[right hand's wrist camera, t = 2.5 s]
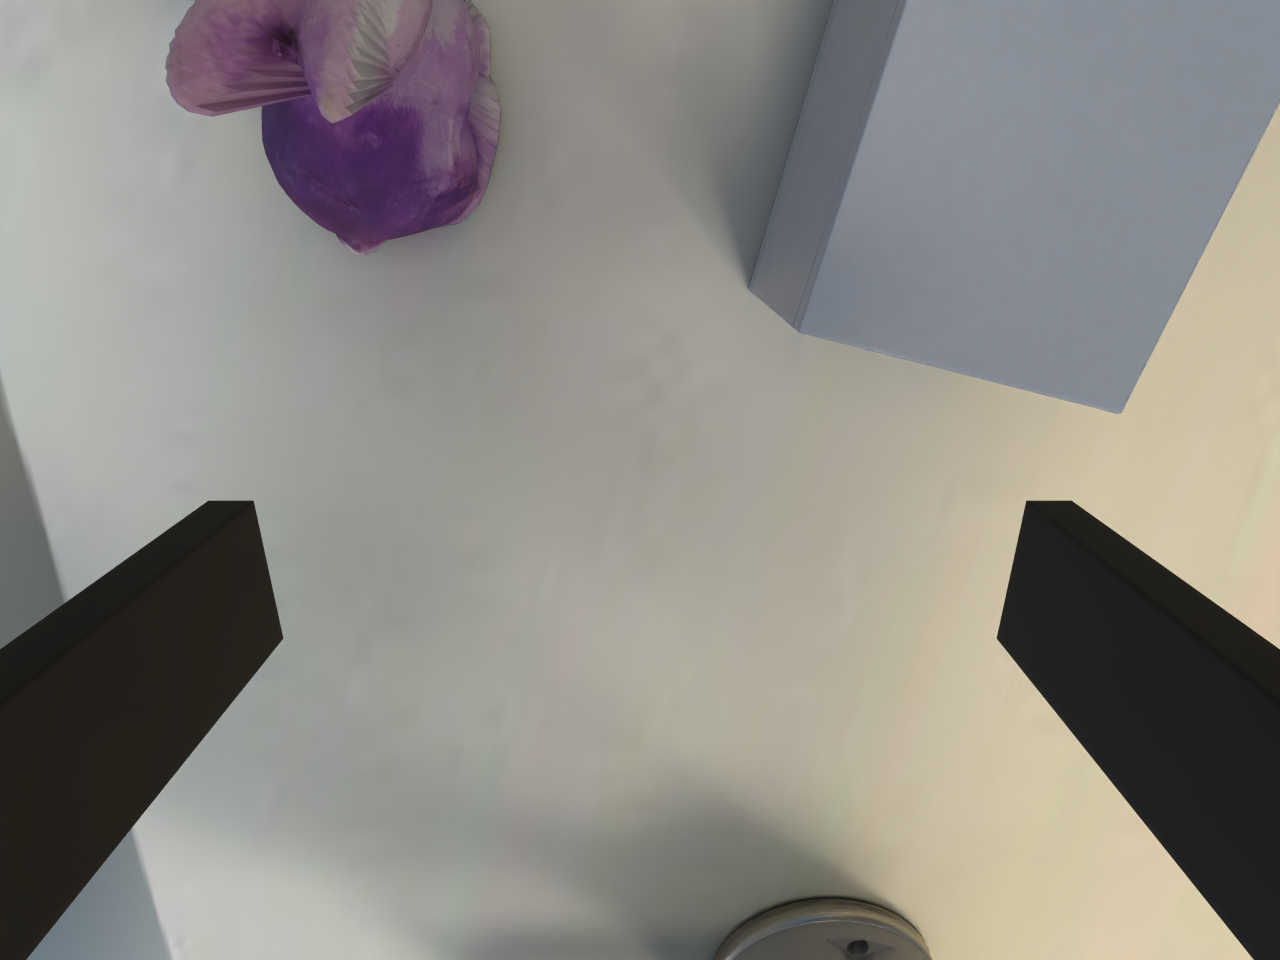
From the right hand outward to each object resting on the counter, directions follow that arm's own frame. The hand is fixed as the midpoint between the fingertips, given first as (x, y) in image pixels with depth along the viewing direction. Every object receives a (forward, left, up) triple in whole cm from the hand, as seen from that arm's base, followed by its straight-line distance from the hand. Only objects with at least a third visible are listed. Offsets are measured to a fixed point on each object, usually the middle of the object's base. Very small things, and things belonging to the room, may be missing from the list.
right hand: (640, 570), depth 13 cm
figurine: (+13, +3, -23) cm, 27 cm away
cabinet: (0, -15, -23) cm, 27 cm away
